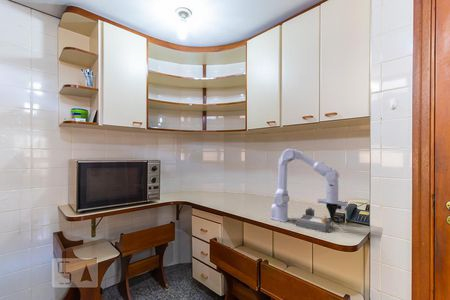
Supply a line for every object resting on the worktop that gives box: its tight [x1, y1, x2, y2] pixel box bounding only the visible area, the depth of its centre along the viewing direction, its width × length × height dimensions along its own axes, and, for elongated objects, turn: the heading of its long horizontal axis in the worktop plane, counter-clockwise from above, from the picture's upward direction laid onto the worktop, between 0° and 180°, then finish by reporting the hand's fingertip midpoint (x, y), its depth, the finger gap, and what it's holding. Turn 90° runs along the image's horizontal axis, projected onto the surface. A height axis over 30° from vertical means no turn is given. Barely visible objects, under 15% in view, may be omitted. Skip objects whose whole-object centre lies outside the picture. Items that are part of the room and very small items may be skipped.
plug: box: [305, 207, 315, 217], centre depth 135 cm, size 4×4×7 cm
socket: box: [296, 214, 332, 233], centre depth 124 cm, size 15×12×4 cm
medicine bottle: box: [331, 206, 348, 226], centre depth 130 cm, size 7×7×12 cm
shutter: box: [310, 215, 328, 223], centre depth 122 cm, size 7×7×3 cm
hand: (332, 218), depth 118 cm, fingers closed
